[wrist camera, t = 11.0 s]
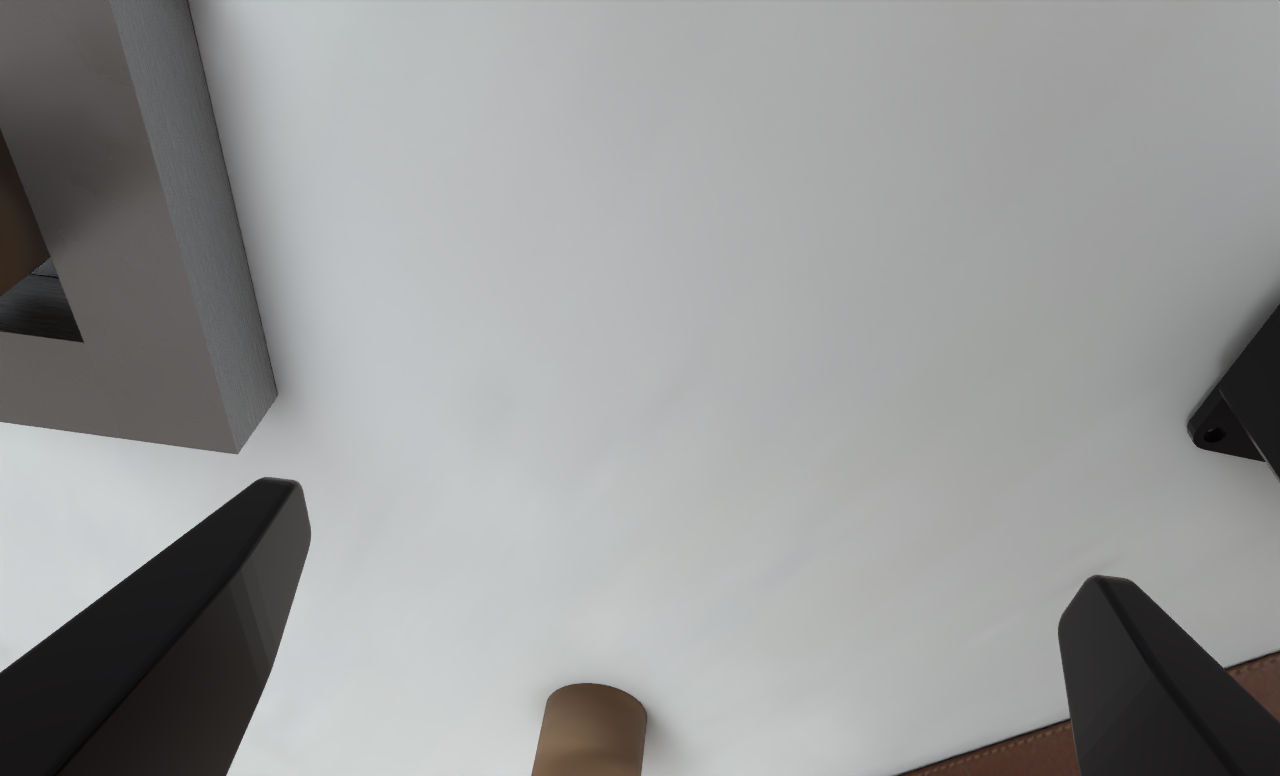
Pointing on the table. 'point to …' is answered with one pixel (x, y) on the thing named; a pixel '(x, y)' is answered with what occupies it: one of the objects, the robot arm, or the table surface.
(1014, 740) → the letter holder
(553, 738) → the stub pin
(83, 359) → the hole collar
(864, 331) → the table surface
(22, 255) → the tall pin
